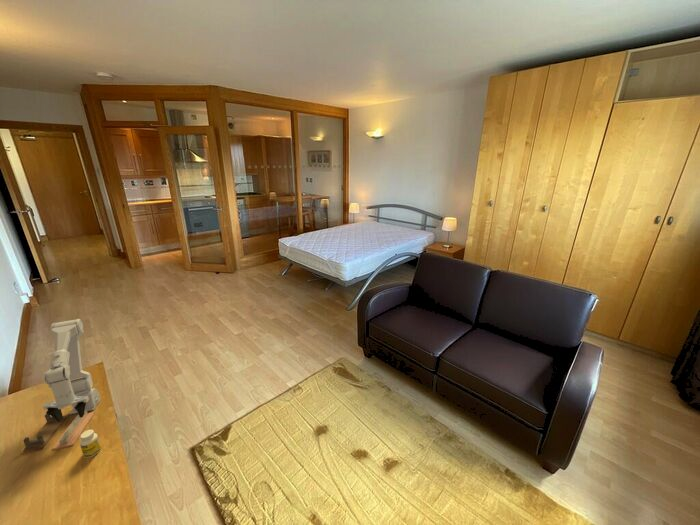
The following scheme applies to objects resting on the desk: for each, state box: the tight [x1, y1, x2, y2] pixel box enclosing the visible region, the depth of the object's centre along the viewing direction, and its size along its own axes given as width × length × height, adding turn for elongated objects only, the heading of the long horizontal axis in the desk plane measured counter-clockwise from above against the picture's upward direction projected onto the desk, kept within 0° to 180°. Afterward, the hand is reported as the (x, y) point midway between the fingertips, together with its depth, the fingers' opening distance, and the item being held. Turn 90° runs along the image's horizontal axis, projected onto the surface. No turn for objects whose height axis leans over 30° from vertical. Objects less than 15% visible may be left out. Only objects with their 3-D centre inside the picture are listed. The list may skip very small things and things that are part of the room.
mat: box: [51, 411, 96, 451], centre depth 125 cm, size 7×18×1 cm, turn 18°
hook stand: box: [22, 413, 68, 454], centre depth 122 cm, size 17×6×5 cm, turn 19°
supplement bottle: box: [79, 429, 102, 459], centre depth 114 cm, size 5×5×10 cm
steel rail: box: [58, 411, 89, 445], centre depth 125 cm, size 16×2×2 cm, turn 19°
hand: (71, 417), depth 123 cm, fingers open, 7 cm apart
